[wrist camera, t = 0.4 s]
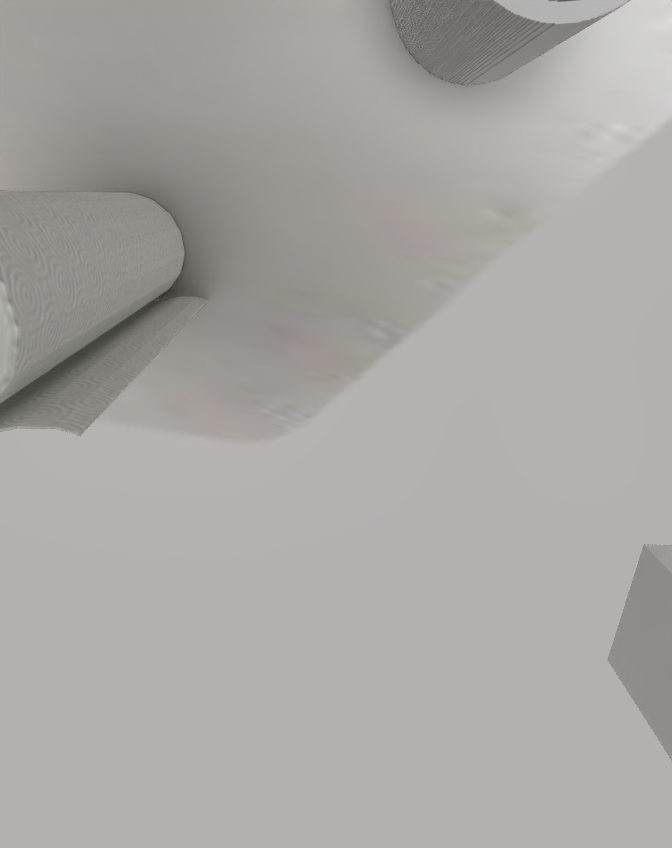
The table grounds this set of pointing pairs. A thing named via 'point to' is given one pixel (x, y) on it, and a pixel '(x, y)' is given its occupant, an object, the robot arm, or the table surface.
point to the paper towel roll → (82, 302)
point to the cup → (489, 33)
